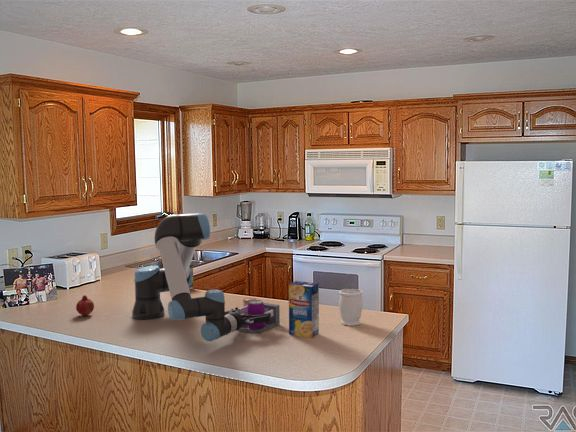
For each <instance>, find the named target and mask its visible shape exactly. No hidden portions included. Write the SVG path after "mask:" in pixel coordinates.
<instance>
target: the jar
mask: <svg viewBox="0 0 576 432" xmlns="http://www.w3.org/2000/svg"><path fill="white" fill-rule="evenodd" d="M338 294H339V299H338V300H339V301H338V307H339V313H340V317H341V324H342V325H344V326H349V327H353V326H359V325H361V321H360V320H361V317H362V311H363V307H364V306H363V304H364V303H363V296H362V295H363V290H361V289H357V288H344V289H343V288H342V289H340V290H339V291H338Z"/></svg>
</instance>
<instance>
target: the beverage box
mask: <svg viewBox="0 0 576 432" xmlns="http://www.w3.org/2000/svg"><path fill="white" fill-rule="evenodd" d="M319 286H320V284H319V283H318V282H308V281H301V280H295V281H293V282H290V283H288V334H289V335H290V336H297V337H301V338H306V339H307V338H308V339H313V338H315V337H316V336H318V335H319V333H320V323H319V322H320V321H319V320H320V318H319V317H320V316H319V314H320V312H319V311H320V309H319V308H320V305H319V304H320V297H319V295H320V293H319V291H320V290H319V288H320V287H319Z"/></svg>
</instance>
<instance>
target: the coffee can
mask: <svg viewBox="0 0 576 432" xmlns="http://www.w3.org/2000/svg"><path fill="white" fill-rule="evenodd" d="M189 267H190V269H191V271H192V283H191V285H190V287H189V290H190V289H193V288H194V268H193V267H194V264H193V262H191V263H190V265H189Z"/></svg>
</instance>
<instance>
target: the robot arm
mask: <svg viewBox="0 0 576 432" xmlns="http://www.w3.org/2000/svg"><path fill="white" fill-rule="evenodd" d="M210 236H211V227H210V221H209V218H208V216H207V215H206V214H205V213H198V212H196V213H184V214H183V213H182V214H169V215H168V216H166V217H164V218H163V219H161V221H160V222H159V223H158V225H157V226H156V229H155V232H154V245H155V248H156V249H157V250H158V251H159V254H160V258H161V263H162V266H163V267H161V268H160V267H159V265H148V266H143V267H140V268H138V269H137V270H136V271H134V296H135V300H134V304H133V307H132V310H131V312H132V314H131V315H132V318H133V319H137V320H152V319H153V320H154V319H156V318H157V319H158V318H161V317H163V316H164V315H165V307H164V305H163V302H162V300H161V293H166V292H169V296H170V298H171V301H168V303H167V311H168V316H169V318H170V320H171V321H184V320H186V319H188V320H189V319H193V318H199V317H201V318H202V317H205V316H206V318H205V323H203V324H202V325H201V327H200V335H201V337H202V338H203V339H204V341H207V342H213V341H217V340H219V339H220V338H222V337H224V336H227V335H229V334H231V333H234V332H236V331H238V329H240V328H241V327H242V326H243V324H246V323H249V325H253V324H256V323H262V322H267V321H269V318H270V317H272V316H273V310H270V311H268V312H265V313H264V314H260V315H250V314H249V315H244V313H246V312H247V306H245V307H240V308H238V307H234V308H230V309H229V310H230V311H229V310H228V311H229V313H228V314H226V315H225V311H226V310H225V309H226V308H225V306H226V305H225V304H226V301H225V293H224V291H222V290H221V289H210V290H207V291H206V292H205V294H204V296H198V297H193V298H192V295H191V291H190V289H189V287H190V285H191V283H192V271H191V269H190V267H189V265H190V263H192V260H193V257H194V255H195V252H196V249H197V247H199V246H201V244H202V242H203V240H205V241H206V240H208V239H209V238H210ZM241 314H242V315H241ZM248 316H249V320H248Z"/></svg>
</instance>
